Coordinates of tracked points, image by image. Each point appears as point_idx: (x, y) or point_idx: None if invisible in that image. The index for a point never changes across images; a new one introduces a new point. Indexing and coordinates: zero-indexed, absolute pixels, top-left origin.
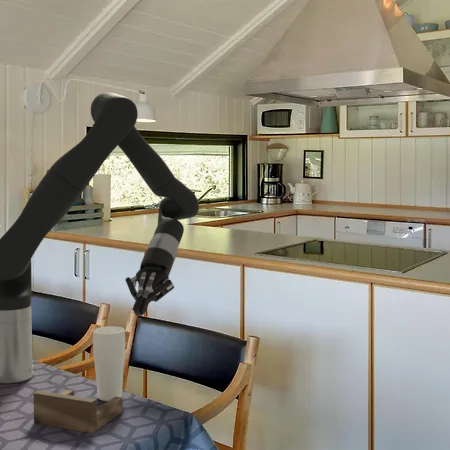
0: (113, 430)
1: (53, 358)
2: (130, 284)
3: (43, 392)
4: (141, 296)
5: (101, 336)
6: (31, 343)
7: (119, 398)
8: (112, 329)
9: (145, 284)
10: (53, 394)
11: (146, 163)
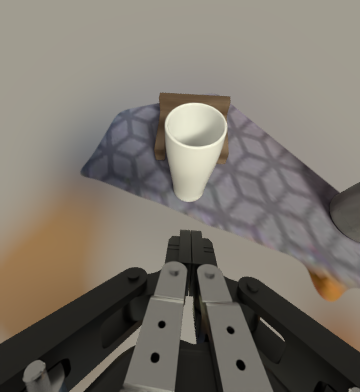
0: (147, 126)
1: None
2: (325, 345)
3: (221, 99)
4: (196, 276)
5: (194, 106)
6: None
7: (156, 146)
8: (203, 150)
9: (205, 353)
10: (208, 98)
11: None
